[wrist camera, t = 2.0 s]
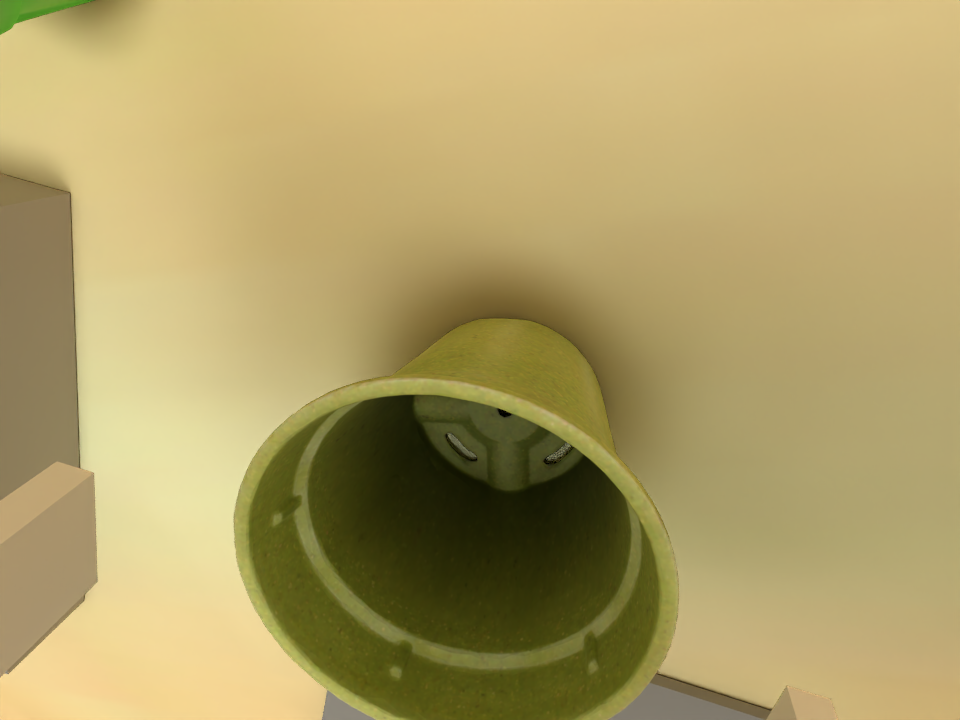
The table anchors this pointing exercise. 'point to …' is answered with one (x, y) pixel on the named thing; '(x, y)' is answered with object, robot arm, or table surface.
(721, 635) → the table surface
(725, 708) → the charcoal mat
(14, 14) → the fruit basket
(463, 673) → the plant pot
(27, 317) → the rock display frame
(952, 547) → the table surface
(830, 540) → the table surface
